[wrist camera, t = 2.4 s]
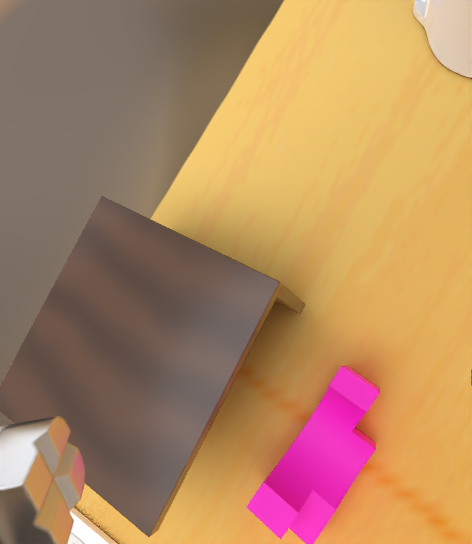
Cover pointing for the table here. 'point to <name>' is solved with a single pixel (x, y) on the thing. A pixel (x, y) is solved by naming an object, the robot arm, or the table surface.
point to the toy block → (319, 462)
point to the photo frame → (86, 531)
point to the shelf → (139, 354)
